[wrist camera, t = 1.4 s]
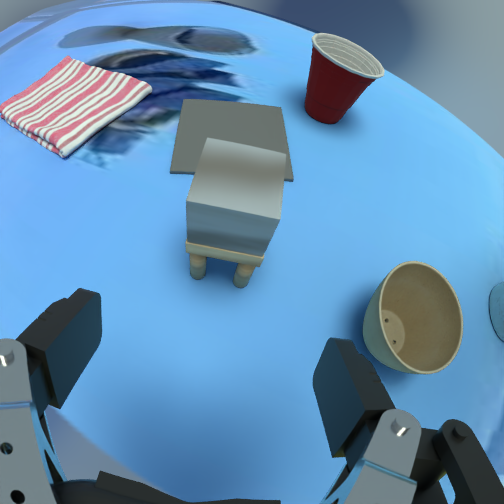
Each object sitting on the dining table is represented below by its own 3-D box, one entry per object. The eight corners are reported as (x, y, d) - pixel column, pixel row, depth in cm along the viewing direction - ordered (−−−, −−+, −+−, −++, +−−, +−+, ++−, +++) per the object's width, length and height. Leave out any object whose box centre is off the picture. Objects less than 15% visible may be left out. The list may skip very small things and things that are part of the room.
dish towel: (70, 67, 41) (67, 53, 37) (155, 95, 39) (154, 76, 36) (-1, 120, 33) (-7, 105, 30) (68, 166, 31) (60, 147, 28)
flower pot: (413, 291, 31) (454, 266, 24) (420, 378, 26) (467, 368, 20) (338, 284, 30) (374, 253, 23) (340, 384, 25) (382, 378, 19)
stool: (247, 290, 28) (281, 221, 17) (187, 278, 27) (183, 201, 16) (255, 237, 30) (287, 153, 20) (200, 226, 30) (206, 136, 19)
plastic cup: (341, 147, 39) (377, 81, 28) (276, 109, 40) (298, 40, 30) (363, 118, 44) (393, 62, 33) (308, 86, 45) (329, 28, 35)
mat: (280, 109, 40) (281, 107, 40) (292, 181, 34) (293, 179, 34) (183, 101, 38) (183, 99, 38) (170, 173, 32) (170, 171, 32)
